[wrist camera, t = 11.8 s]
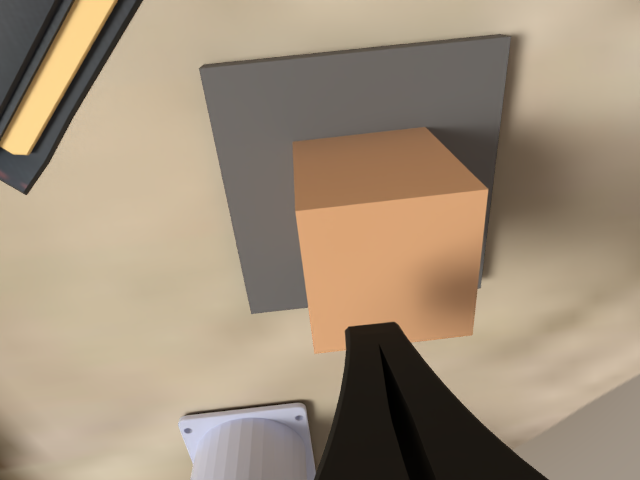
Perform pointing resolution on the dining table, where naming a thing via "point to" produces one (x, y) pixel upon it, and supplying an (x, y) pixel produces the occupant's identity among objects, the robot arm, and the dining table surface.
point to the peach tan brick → (388, 235)
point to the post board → (340, 132)
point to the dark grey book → (49, 74)
